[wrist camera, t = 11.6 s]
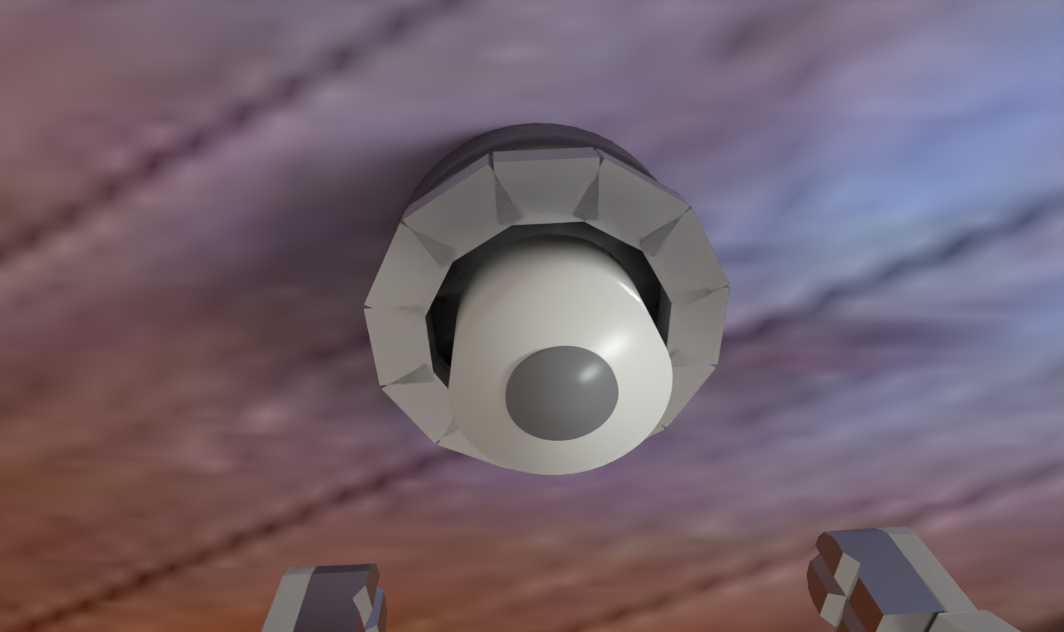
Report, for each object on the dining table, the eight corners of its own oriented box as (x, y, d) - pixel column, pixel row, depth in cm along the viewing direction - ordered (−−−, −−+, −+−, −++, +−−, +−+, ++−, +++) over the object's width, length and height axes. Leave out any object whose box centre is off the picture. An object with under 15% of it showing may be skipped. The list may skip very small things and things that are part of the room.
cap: (633, 386, 20) (664, 472, 16) (465, 397, 20) (459, 487, 16) (644, 228, 17) (686, 289, 13) (447, 238, 17) (435, 304, 13)
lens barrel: (663, 374, 25) (702, 456, 20) (416, 389, 24) (399, 478, 20) (690, 116, 19) (752, 150, 15) (372, 130, 19) (334, 169, 14)
